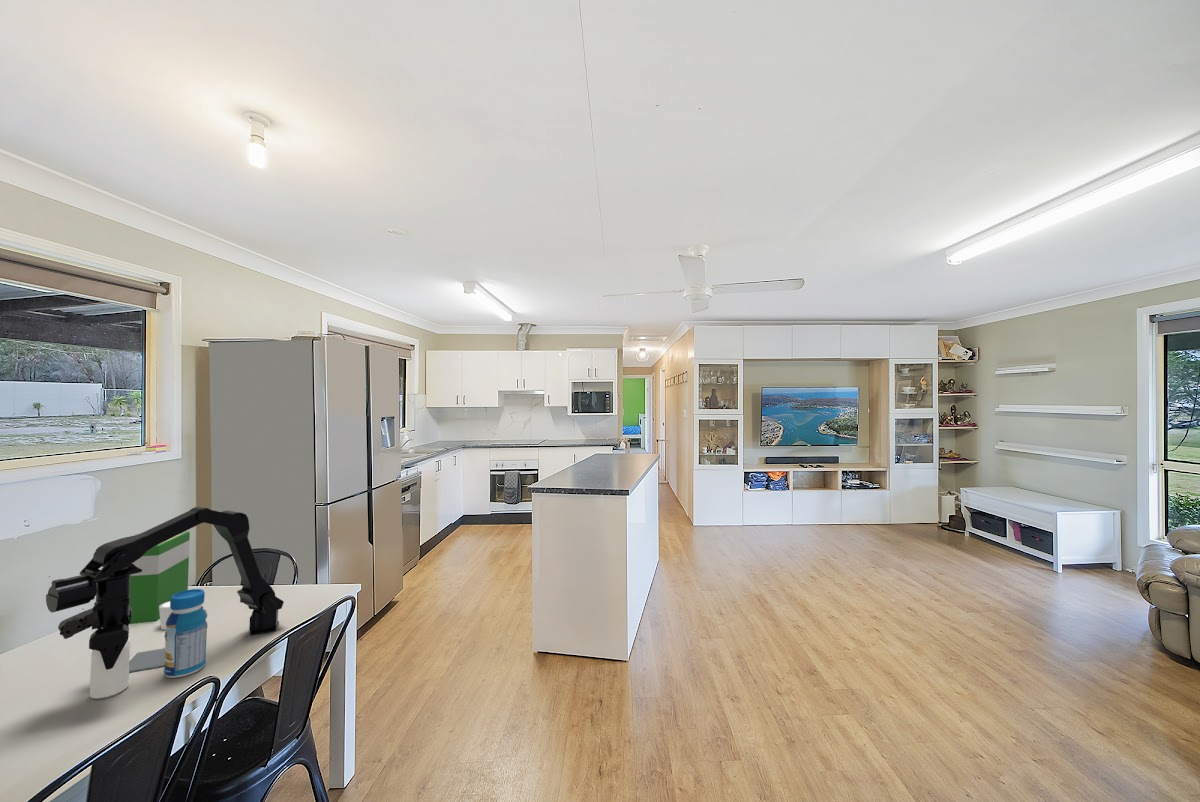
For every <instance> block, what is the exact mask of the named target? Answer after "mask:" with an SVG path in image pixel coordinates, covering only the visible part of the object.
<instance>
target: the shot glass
mask: <svg viewBox="0 0 1200 802" xmlns="http://www.w3.org/2000/svg"><path fill="white" fill-rule="evenodd" d="M159 612H160V619H159V622H160V629H161V630H163V631H164V630H165V631H166V630H167V627H166V621H167V619H168V617H169V615H170V614H171V613H172V612H173V611H172V610H171V608H170V601H169V602H165V603H163V604H161V605H160V606H159Z"/></svg>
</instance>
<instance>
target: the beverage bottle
mask: <svg viewBox="0 0 1200 802" xmlns="http://www.w3.org/2000/svg"><path fill="white" fill-rule="evenodd" d="M205 593H206V592H205V590H204V589H202V588H201V589H200V588H192V589H188V590H185V591H181V592H178V593H176V594H174V595H172V596H171V599H170V608H171V610H172V611H173V612H172V613H171V614H170V615H169V617H168V619H167V621H166V627H167V630H165V631H164V640H165V641H164V648H165V667H163V668H164V670H163V674H164V676H165V678H168V679H169V678H170V679H177V678H183V677H186V676H187V677H188V676H189V675H192V674H195V673H196V672H199V671H200V670H202V669H203V668H204V667H205V665H206V664H207V663H206V661H207V659H206V656H207V655H206V654H207V632H208V627H209V626H208V621H207V618H208V612H207V610H206V609H205V608H204V606H203V604H204V603H205V596H206V595H205Z"/></svg>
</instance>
